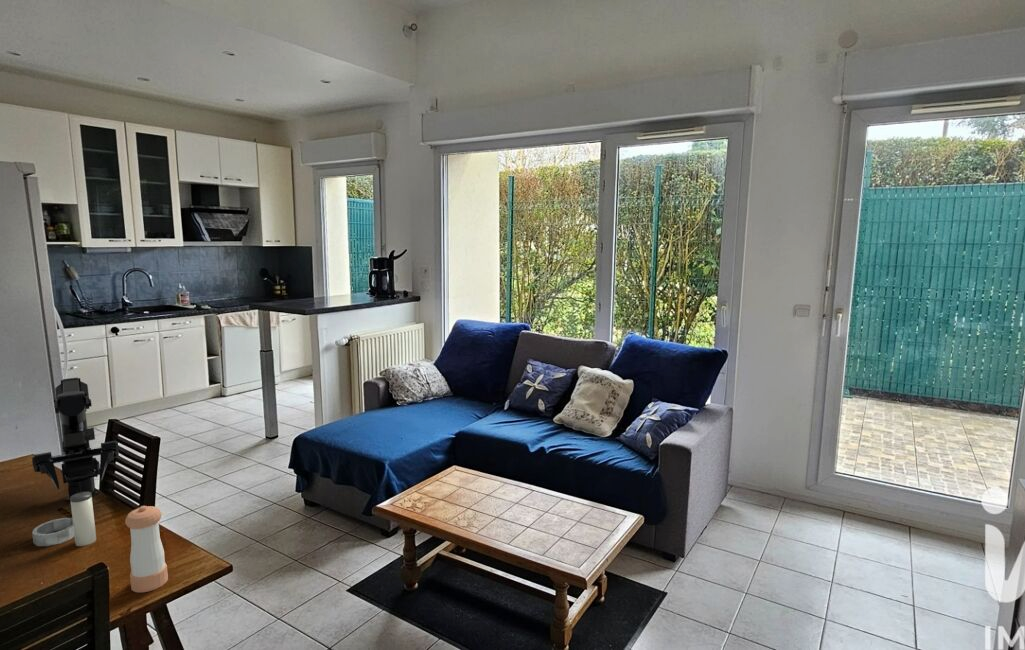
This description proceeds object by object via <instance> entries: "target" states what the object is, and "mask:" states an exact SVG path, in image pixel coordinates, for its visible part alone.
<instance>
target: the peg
mask: <svg viewBox="0 0 1025 650" xmlns="http://www.w3.org/2000/svg"><path fill="white" fill-rule="evenodd" d="M69 502H70V508H71V515H72V516H71V518H73V527H74V544H75V546H77V547H85V546H89V545H91V544H93V543H96V541H97V533H96V532H97V531H96V523H95V515H94V506H93V497H92V495H91V492H81V493H77V494H74V495H72V496H71V497H70V501H69Z"/></svg>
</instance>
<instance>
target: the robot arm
mask: <svg viewBox="0 0 1025 650" xmlns="http://www.w3.org/2000/svg"><path fill="white" fill-rule="evenodd" d="M88 386H89V385H88V383H85V382H83V381H81V377H71V378H69V377H68V378H63V379H61V380H60V384H59V385H57V386H56V387H55V388H54V392H55V400H54V411H55V414H58V415H59V419H60V423H61V425H60V426H61V435H62V436H61V437H62V442H61V444H62V452H63V454H58V455H52V452H51V451H50V452H49V451H48V452H42V453H37V454H34V455H33V456H32V457H31V460H32V461H31V462H32V463H31V464H32V468H33V471H34V472H35V473H40V474H41V475H43V474H46V475H47V476H48V477H49V478H50V480H51V481H52V483H53V484H54V486H55V488H56V490H60V481H59V478H58V476H57V471H56V468H55V464H57V463H61V474H62V482H63V484H67V485H68V486H67V493H68V496H67V497H66V498H64V501H65V502H71V501H70V497H71V496H72V495H74V494H77V493H81V492H91V495H92V498H93V497H94V496H96V495H98V494H100V493H101V490H100V489H98V491H95V490H96V486H95V485H96V484H95V478H98V477H99V480H100V481H102V480H103V478H104V476H105V472H106V469H107V467H108V464H109V463H110V462H111V461H112V462H113V461H114V460H115V459H114V458H118V457H119V456H120V453H119V452H120V451H119V449H120V448H119V443H118V441H117V440H112V441H111V440H110V441H107V442H106V441H105V442H101V443H100V447H98V448H91V447H90V441H94V440H96V437H95V436H96V434H95V428H94V427H90V428H88V421H87V413H86V412H87V410H89V409H90V407H92V406H93V405H92V399H91V398H90V396H89V395H90V394H89V388H88ZM95 456H96V457H97V456H99V458H100V460H98V459H97V458H96V457H95ZM62 462H63V463H62ZM94 489H95V490H94Z"/></svg>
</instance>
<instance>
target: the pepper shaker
mask: <svg viewBox="0 0 1025 650" xmlns="http://www.w3.org/2000/svg"><path fill="white" fill-rule="evenodd" d="M162 513H163V512H162V510H161V509H160V508H158V507H157V506H153V505H152V506H151V505H150V506H149V505H148V506H147V505H141V506H140V507H138V508H135V509H133V510H131V511H130V512H129V513H128V514H127V516H126V518H125V520H124V521H125V522H124V523H125V525H126V527H128V528H129V531H130V540H131V541H130V542H131V547H130V554H129V555H130V556H129V562H130V570H131V571H130V573H129V580H130V587H131V588H130V589H131V591H133V592H134V593H146V592H151V591H154V590H157V589H159V588H161V587H163V586H164V585H165V584H166V583H167V582H168V579H169V575H168V565H167V563H166V561H165V550H164V546H163V543H162V540H161V536H160V525H159V521H160V520H161V518H162V515H163V514H162Z"/></svg>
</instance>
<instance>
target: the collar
mask: <svg viewBox="0 0 1025 650" xmlns="http://www.w3.org/2000/svg"><path fill="white" fill-rule="evenodd" d="M31 535H32V536H31V537H32V542H33V544H34V545H35V546H36V547H51V546H55V545H59V544H63V543H65V542H67V541H70V540H71V539H73V538H75V536H74V527H73V518H72V517H63V518H62V517H61V518H56V519H52V520H49V521H46V522H44V523H41V524H40V525H38V526H36V527H34V528H33V530H32V532H31Z"/></svg>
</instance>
